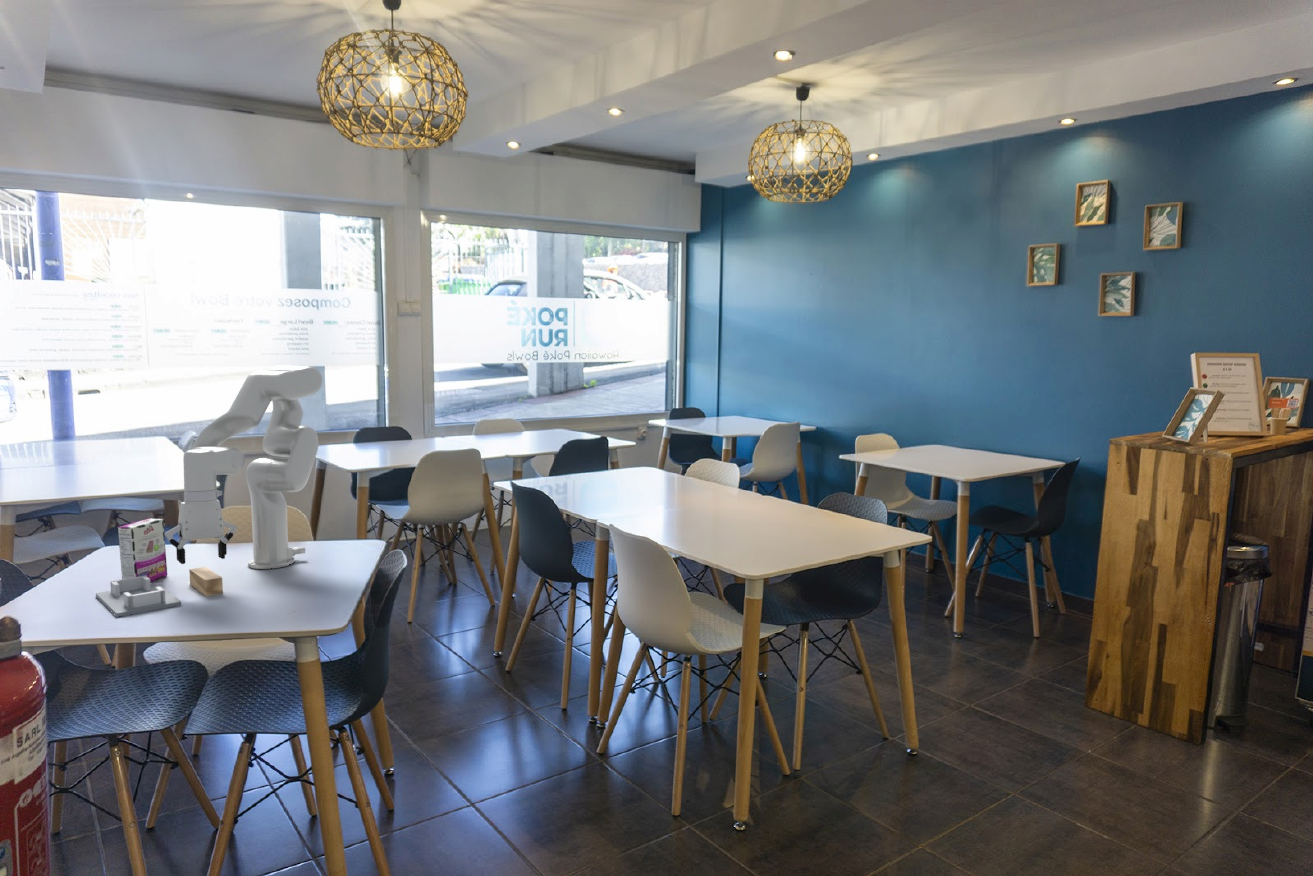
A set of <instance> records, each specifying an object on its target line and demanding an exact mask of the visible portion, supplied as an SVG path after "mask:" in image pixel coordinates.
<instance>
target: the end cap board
mask: <svg viewBox="0 0 1313 876" xmlns="http://www.w3.org/2000/svg"><path fill="white" fill-rule="evenodd" d="M95 597H96V599H97V600H99V601H100V603H102V604H103V606H105V607H106V608H107V609H108V610H109V609H110V610H109V612H111V611H112V612H111V613H112V614H113V615H114V614H115V615H116V616H115V615H114V616H115V617H116V618H120V617H119V616H122V617H126V616H125V615H127V616H131V615H130V614H133V615H138V614H143V613H148V612H153V611H157V610H158V609H159V610H164V609H170V608H175V607H179V606H182V600H180V599H179V598H177V597H176V596H175V595H173V594H172V593H171V592H170V591H168V590H167V589H166V588H165V587H163V586H161V584H159V583H158V582H154V583H151V582H150V579H149V578H148V577H147V576H140V577H134V578H127V579H122V578H120V579H118V580H117V579H116V580H115V579H114V580H111V581H110V590H106V591H101V592H96V593H95Z"/></svg>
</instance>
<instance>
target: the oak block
mask: <svg viewBox="0 0 1313 876" xmlns="http://www.w3.org/2000/svg"><path fill="white" fill-rule="evenodd" d="M189 585H190V586H191V587H192V588H194V589H196V590H197V591H198V592H200V594H203V595H204V596H206V597H209V596H210V595H211V596H216V595H220V594H223V593H224V589H223V576H220V575H219V574H218V573H216V572H215V571H212V570H211V569H210V568H208V567H206V566H203V567H202V566H201V567H195V568H190V569H189ZM211 596H210V597H211Z"/></svg>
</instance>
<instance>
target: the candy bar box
mask: <svg viewBox="0 0 1313 876" xmlns="http://www.w3.org/2000/svg"><path fill="white" fill-rule="evenodd" d="M164 526H165V525H164V518H147V519H142V520H139V521H135V522H131V523H129V524H125V525H121V526H118V527H117V533H118V535H117V537H118V545H119V547H118V548H119V554H120V555H119V556H120V559H119V560H120V567H121V569H120V570H121V579H127V578H134V577H140V576H147V577H148V578H149V579H150V583H151V582H154V581H157V580H160V579H163V578H165V577H167V576H168V566H167V565H168V564H167V554H166V553H167V552H166V541H165V540H166V539H165V538H166V537H165V535H164V533H165V527H164Z"/></svg>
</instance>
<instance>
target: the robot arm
mask: <svg viewBox="0 0 1313 876" xmlns="http://www.w3.org/2000/svg"><path fill="white" fill-rule="evenodd" d="M322 385H323V377H322V374H321V373H320V371H319V370H318V369H317V368H315V367H314V366H310V365H309V366H307V365H306V366H305V365H302V366H301V365H276V366H272V367H270V368H269V369H267V370H256V371H253V372H251V373H250V374H249V375H247V377H246V379H245V380H244V382H243V384H242V386H241V387H240V390H239V391H238V393H237V395H236V397H235V399H234V400H233V402H232V404H231V406H230V408H229V409H228V410H227V412H225V413H224V414H222V415H220V416H218V417H217V418H216V419H215V420H213V421H212V422H211V423H210V424H208V425H207V426H206V427H205V428H203V430H201V431H200V433H199V434H198V435H197V438H196V439H195V441H194V443H193V445H192V446H191V449H189V450H186V451H185V452H183V453H184V454H183V457H182V458H183V459H182V460H183V486H184V487H183V488H184V489H183V491H184V492H183V493H184V494H183V495H184V498H183V499H184V501H182V502H180V506H179V512H178V521H177V522H178V523H177V525H175V526H174V527H172V528H170V529H169V530H167V531H164V537H165V538H166V539H167V541H168V543H169V544H171V545H172V546H173V547H175V549H176V560H177V561H178V562H179V563H180V564H181V565H185V564H186V549H185V548H184V547H185V545H186V544H187V543H188V542H193V541H200V540H201V541H202V540H203V541H204V540H209V539H210V540H211V539H217V540H218V544H217V547H218V548H217V553H218V555H217V556H218V558H219V559H221V560H225V559H226V555H227V551H228V550H227V544H228V543H229V542H230V540H231V539H232V538H233V537H234V534H235V532H236V530H237V528H238V526H237V525H235V524H232V523H230V522H227V521H224V518H223V511H222V506H221V502H220V500H219V499H218V497H220V496H223V490H218V489H217V476H218V475H227V476H228V475H229V476H230V475H231V476H232V475H235V474H238V473H239V472H241V471H242V470H243V468H244V467H245V463H246V456H245V455H244V452H243V451H242V450H240V449H238V448H236V447H231V446H221V445H222V444H223V443H224V442H226V441H227V440H228V439H230V438H233V437H235V436H236V435H239V434H243V433H245V432H247V431H250V430H252V429H255V428H256V427H258V426H259V425H260V423H261V420H262V419H263V417H264V415H265V413H266V411H267V409H268V407H269V405H270V404H271V402H272V412H271V415H270V419H269V421H268V424H267V427H266V430H265V433H264V436H263V439H262V450H263V451H264V453H266V454H267V455H269V456H274V457H262V458H261V457H260V458H256V459H254V460H252V461H251V462H250V463H249V464H248V465H247V467H246V469H245V480H246V484H247V487H248V491H249V497H250V506H251V507H250V510H251V511H250V512H251V527H252V531H251V532H252V551H253V558H251V559H250V560H248V561H247V566H248V567H249V568H251V569H257V570H272V569H278V568H283V567H287V566H290V565H289V564H291V565H293V564H292V563H295V560H296V559H295V557H294V556H296V555H302V554H306V548H305V546H300V547H298V546H295V547H291V546H289V531H288V530H289V529H288V509H287V508H288V504H287V501H286V499H285V496H284V494H283V493H282V492H284V493H296V492H297V493H298V492H300V491H303V489H304V488H305V487H306V486H307V483H308V481H309V479H310V476H311V473H312V469H313V466H314V464H315V460H316V456H317V454H318V450H319V436H318V434H317V431H316V430H315V429H314V428H312V427H311V426H306V425H301V423H302V420H303V416H304V415H303V414H304V413H303V412H304V411H303V408H302V405H301V403H300V401H299V400H298V399H303V398H306V397H311V396H313V395H315V394H317V393H318V392H319V391H320V389H321V387H322ZM276 457H283V458H276ZM224 527H225V528H228V531H227V533H226V534H224V533H225V532H224V529H225V528H224ZM175 534H177V535H178V540H175V538H174V536H173V535H175ZM271 568H272V569H271Z"/></svg>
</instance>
